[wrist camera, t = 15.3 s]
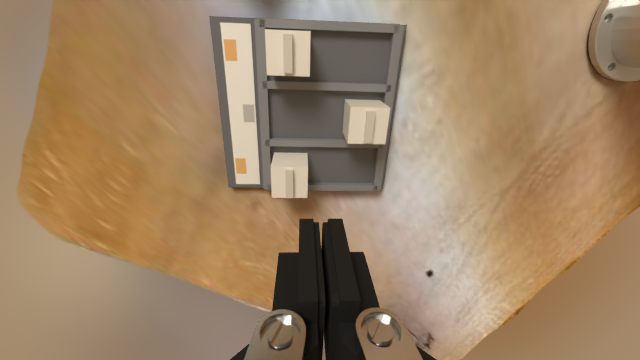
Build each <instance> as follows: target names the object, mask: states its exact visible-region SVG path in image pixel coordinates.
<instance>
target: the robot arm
mask: <svg viewBox="0 0 640 360" xmlns="http://www.w3.org/2000/svg"><path fill="white" fill-rule="evenodd" d="M588 48H589V56H590V59H591V62H592V65H593V66H594V68H595V69H596V71H597V72H598V73H600V74H601V75H602V76H603V77H605V78H608V79H610V80H615V81H622V82H634V81H640V0H603V1H602V3H601V5H600V6H599V8H598V10H597V13H596V15H595V17H594V20H593V22H592V26H591V30H590V33H589V43H588ZM323 336H324V341H325V353H326V360H436V359H435V358H433V357H432V356H430V355H429V354H427V353H426V352H425V351H423V350H422V349H420V348H419V347H417V346H416V345H415V344H414V342H413V340H412V338H411V336H410V334H409V332H408V330H407V328H406V327H405V325H404V323H403V322H402V320H401V319H400V318H399V317H398V316H397V315H396V314H394V313H393V312H391V311H389V310H387V309H383V308H380V307H379V303H378V300H377V296H376V293H375V290H374V286H373V283H372V279H371V276H370V272H369V269H368V265H367V262H366V259H365V255H364V253H363V252H350V251H349V246H348V242H347V238H346V233H345V229H344V224H343V220H342V219H328V222H323V227H322V248H321V242H320V231H319V222H313V219H300V224H299V253H279V256H278V265H277V274H276V282H275V291H274V300H273V308H272V311H271V312H269V313H267V314H266V315H264V316H263V317H262V318H261V319H260V320H259V321H258V323H257V325H256V327H255V329H254V332H253V335H252V338H251V341H250V344H248V345H247V346H246V347H245V348H244V349H242V350H241V351H240V352H239V353H237V354H236V355H235V356H234V357H233V358H232V359H230V360H322V351H323Z"/></svg>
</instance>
